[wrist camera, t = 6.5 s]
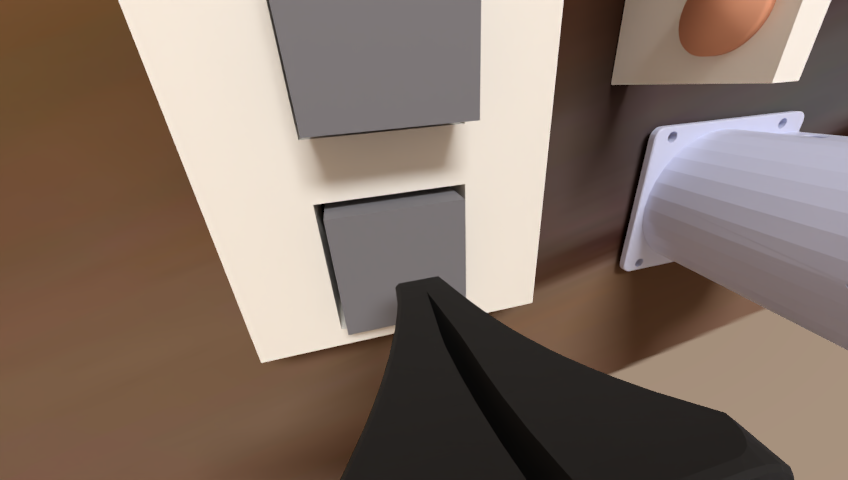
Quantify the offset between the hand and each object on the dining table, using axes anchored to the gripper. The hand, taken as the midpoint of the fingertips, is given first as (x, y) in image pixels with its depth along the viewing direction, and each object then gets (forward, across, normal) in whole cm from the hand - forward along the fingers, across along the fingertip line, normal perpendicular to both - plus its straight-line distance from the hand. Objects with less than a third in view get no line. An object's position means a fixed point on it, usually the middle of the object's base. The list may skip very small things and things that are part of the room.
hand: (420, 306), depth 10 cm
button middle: (+4, 0, -7) cm, 8 cm away
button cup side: (+5, 0, 0) cm, 5 cm away
